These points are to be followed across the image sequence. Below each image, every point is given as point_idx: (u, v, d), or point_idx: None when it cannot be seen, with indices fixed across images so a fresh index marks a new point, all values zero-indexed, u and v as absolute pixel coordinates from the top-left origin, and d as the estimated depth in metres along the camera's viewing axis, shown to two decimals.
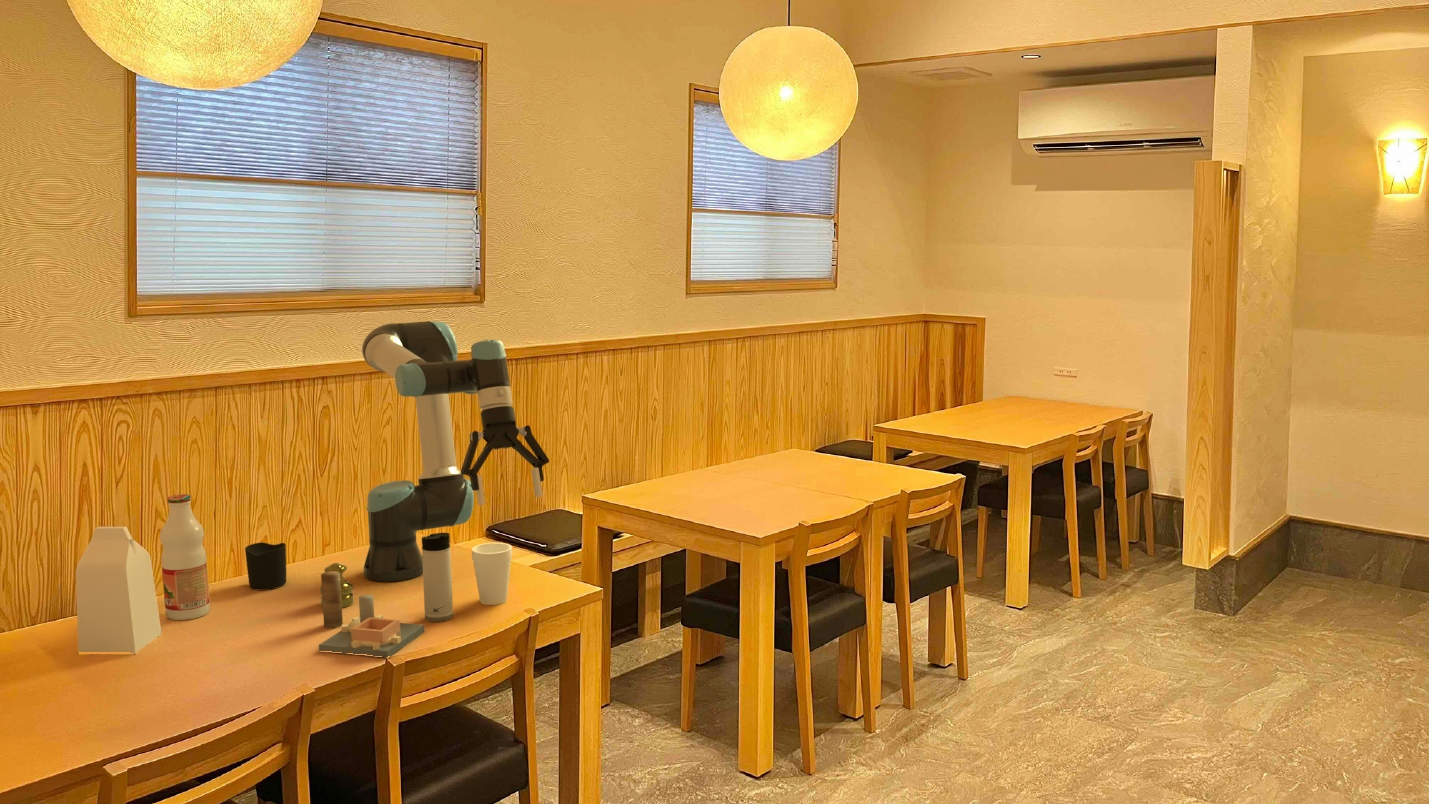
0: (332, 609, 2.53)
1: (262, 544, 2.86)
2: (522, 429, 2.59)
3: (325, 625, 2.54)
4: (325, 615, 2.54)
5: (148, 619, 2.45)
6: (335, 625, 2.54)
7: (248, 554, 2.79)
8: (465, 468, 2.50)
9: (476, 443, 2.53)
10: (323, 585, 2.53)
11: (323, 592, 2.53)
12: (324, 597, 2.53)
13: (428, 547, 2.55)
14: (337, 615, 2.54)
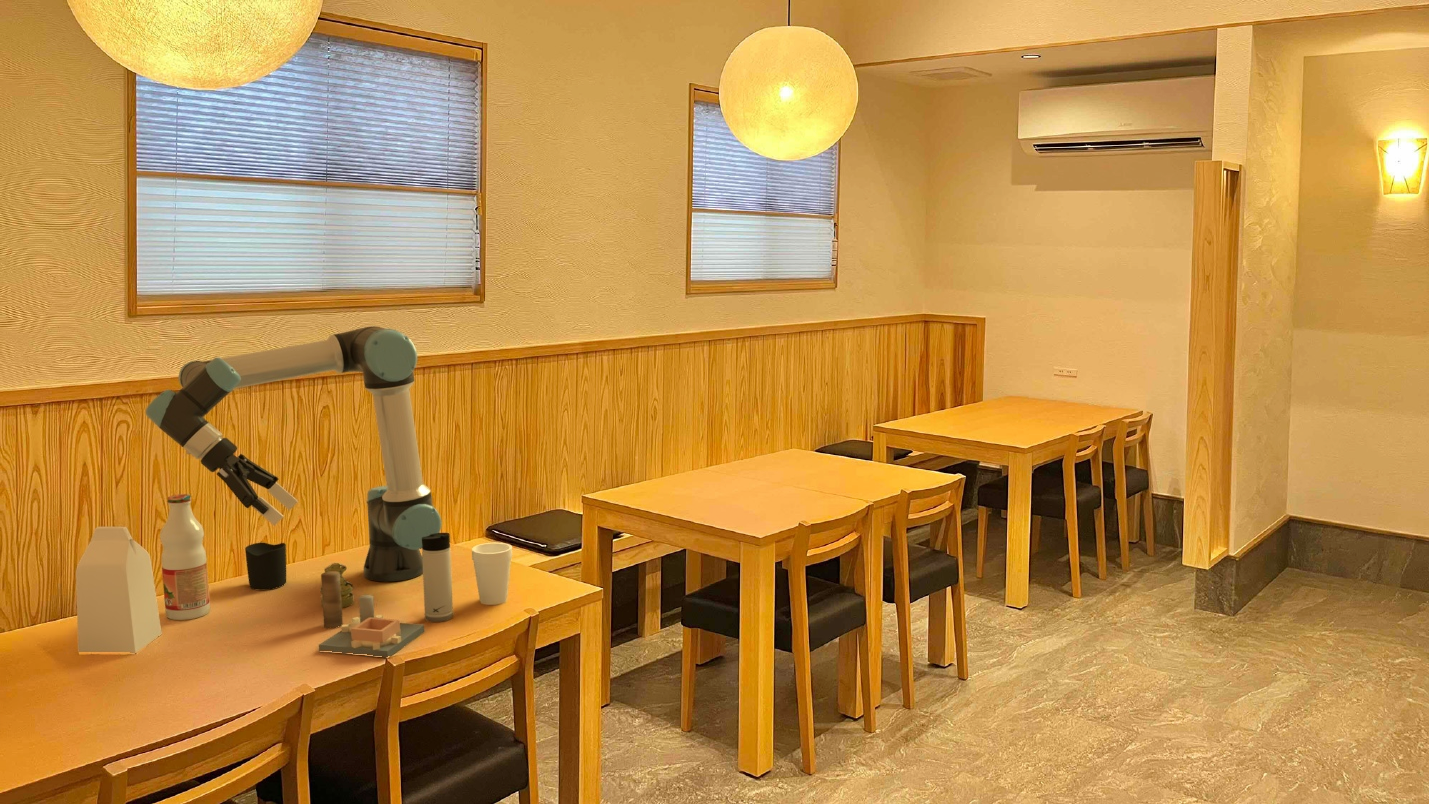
0: (332, 609, 2.53)
1: (262, 544, 2.86)
2: None
3: (325, 625, 2.54)
4: (325, 615, 2.54)
5: (148, 619, 2.45)
6: (335, 625, 2.54)
7: (248, 554, 2.79)
8: None
9: None
10: (323, 585, 2.53)
11: (323, 592, 2.53)
12: (324, 597, 2.53)
13: (428, 547, 2.55)
14: (337, 615, 2.54)
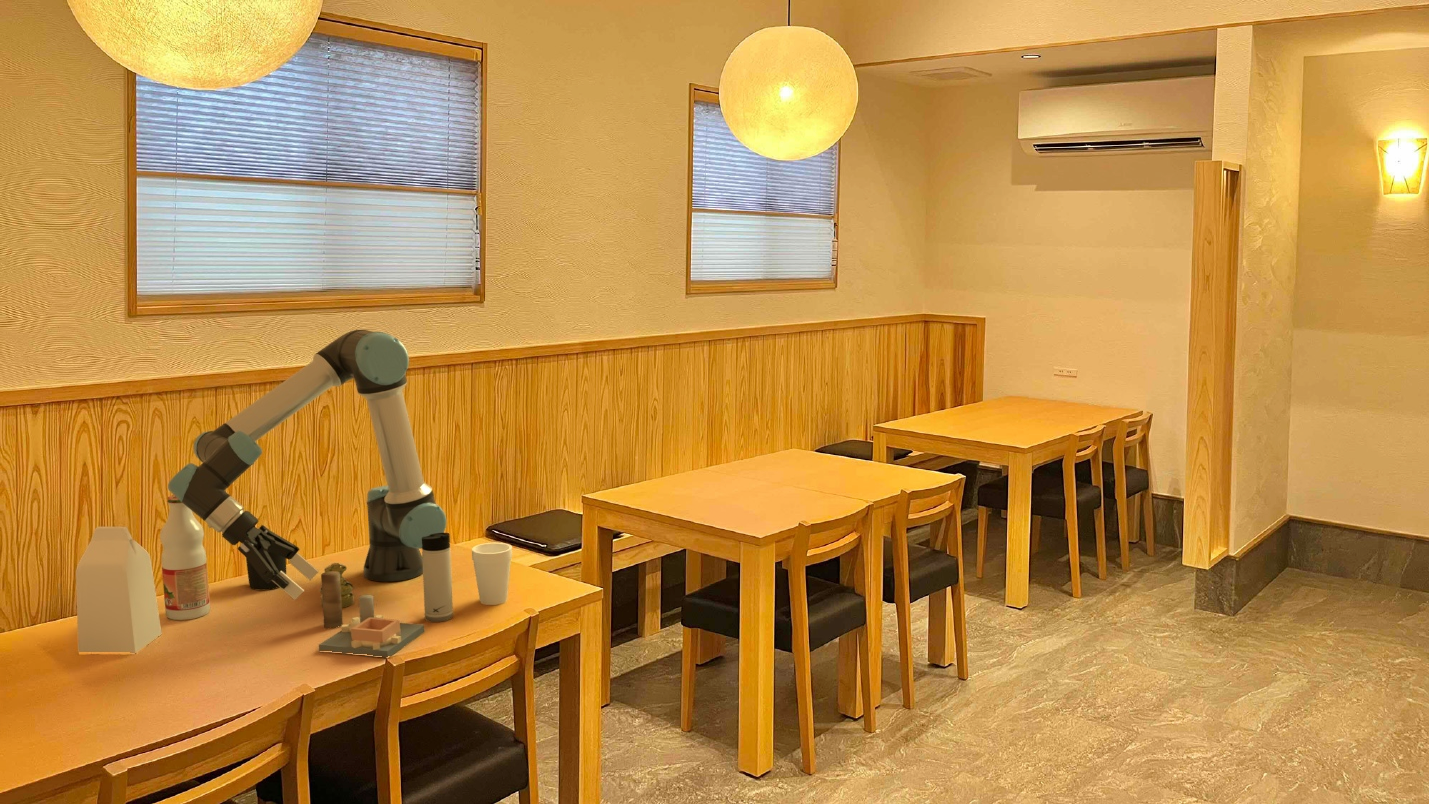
0: (332, 609, 2.53)
1: None
2: None
3: (325, 625, 2.54)
4: (325, 615, 2.54)
5: (148, 619, 2.45)
6: (335, 625, 2.54)
7: None
8: None
9: None
10: (323, 585, 2.53)
11: (323, 592, 2.53)
12: (324, 597, 2.53)
13: (428, 547, 2.55)
14: (337, 615, 2.54)
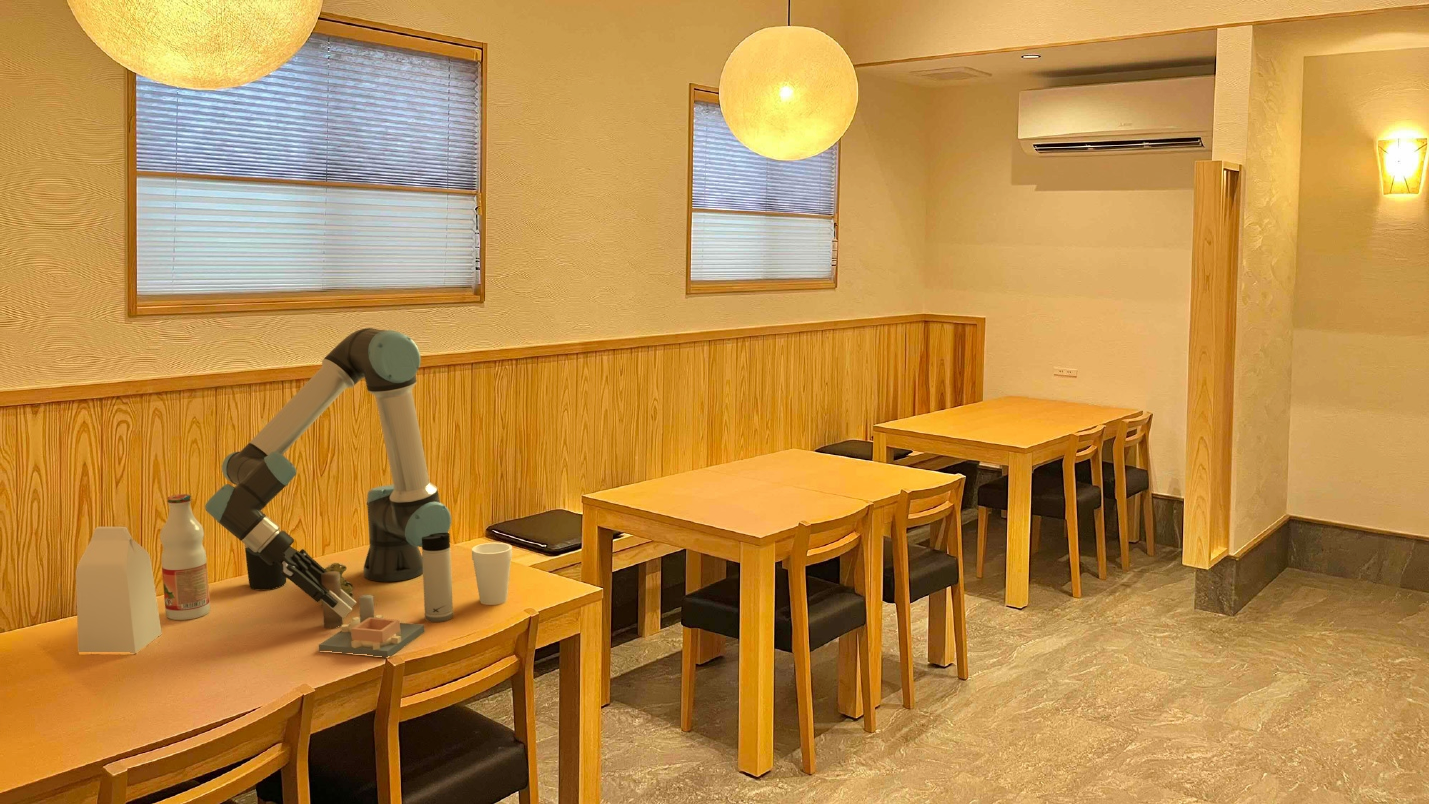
0: (332, 609, 2.53)
1: None
2: None
3: (325, 625, 2.54)
4: (325, 615, 2.54)
5: (148, 619, 2.45)
6: (335, 625, 2.54)
7: (248, 554, 2.79)
8: None
9: None
10: (323, 585, 2.53)
11: None
12: None
13: (428, 547, 2.55)
14: (337, 615, 2.54)
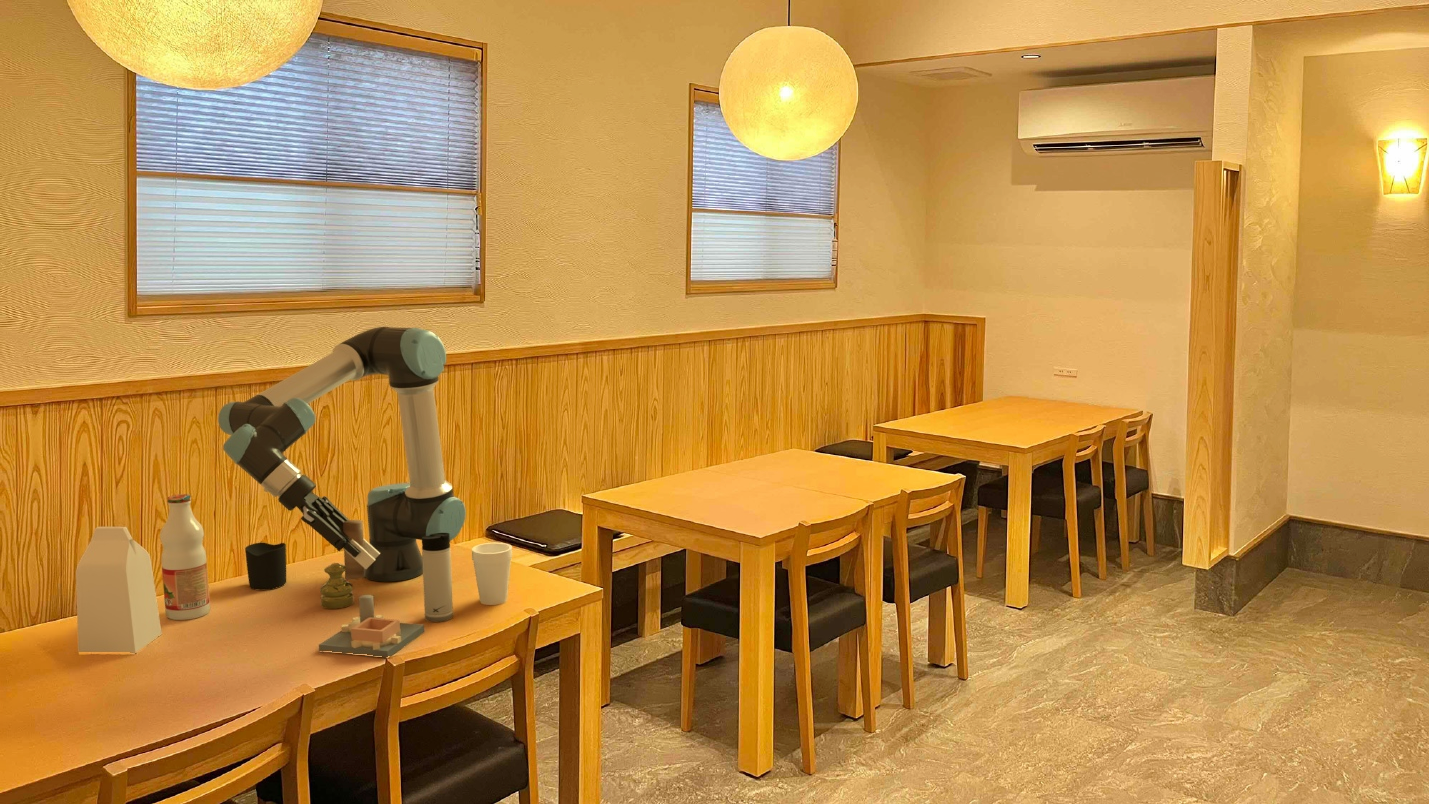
0: (354, 559, 2.39)
1: (262, 544, 2.86)
2: None
3: (346, 576, 2.40)
4: (346, 565, 2.40)
5: (148, 619, 2.45)
6: (357, 576, 2.40)
7: (248, 554, 2.79)
8: None
9: None
10: (345, 533, 2.39)
11: None
12: None
13: (428, 547, 2.55)
14: (359, 565, 2.40)
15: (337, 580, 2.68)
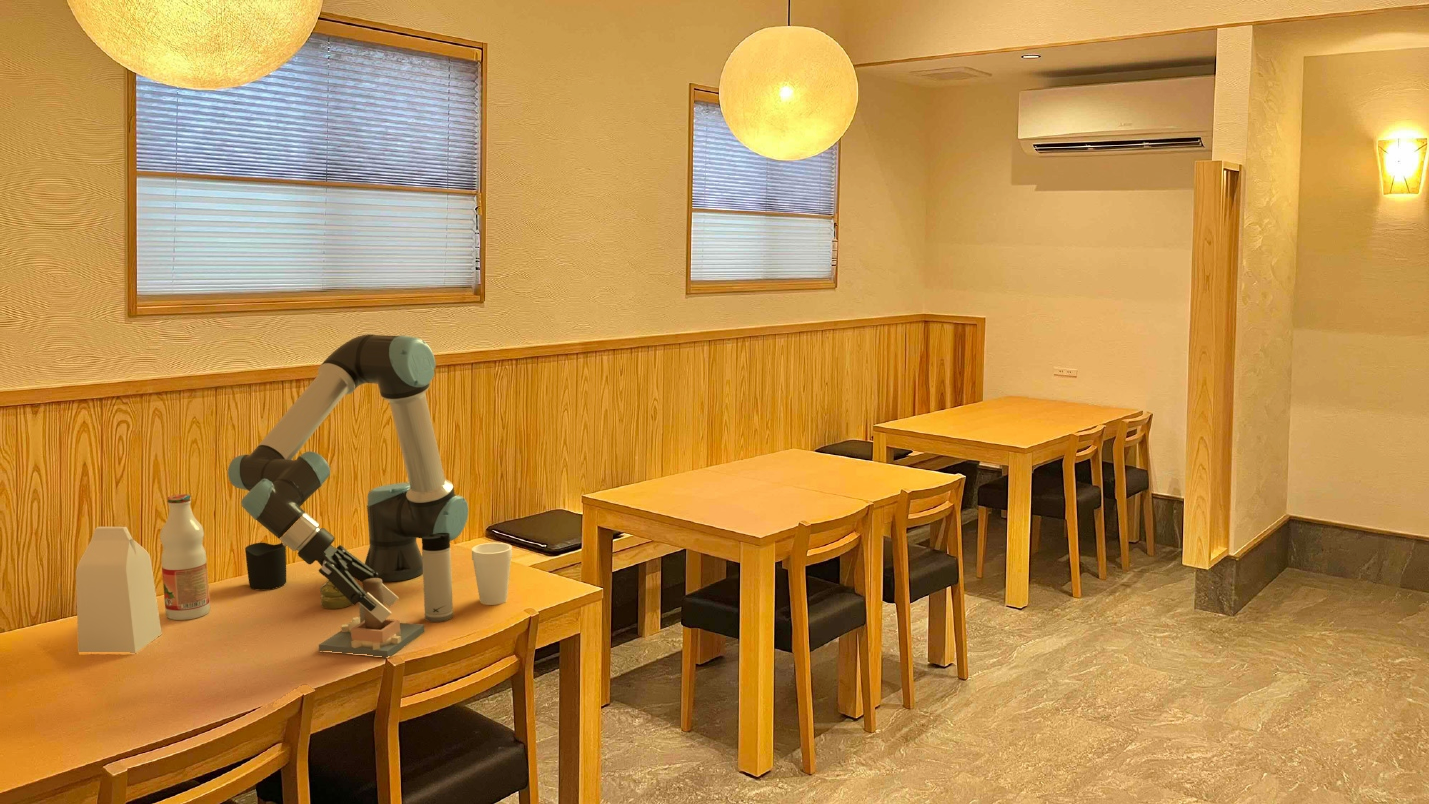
0: (375, 618, 2.39)
1: (262, 544, 2.86)
2: None
3: None
4: (367, 624, 2.40)
5: (148, 619, 2.45)
6: None
7: (248, 554, 2.79)
8: None
9: None
10: None
11: None
12: None
13: (428, 547, 2.55)
14: (380, 624, 2.40)
15: None
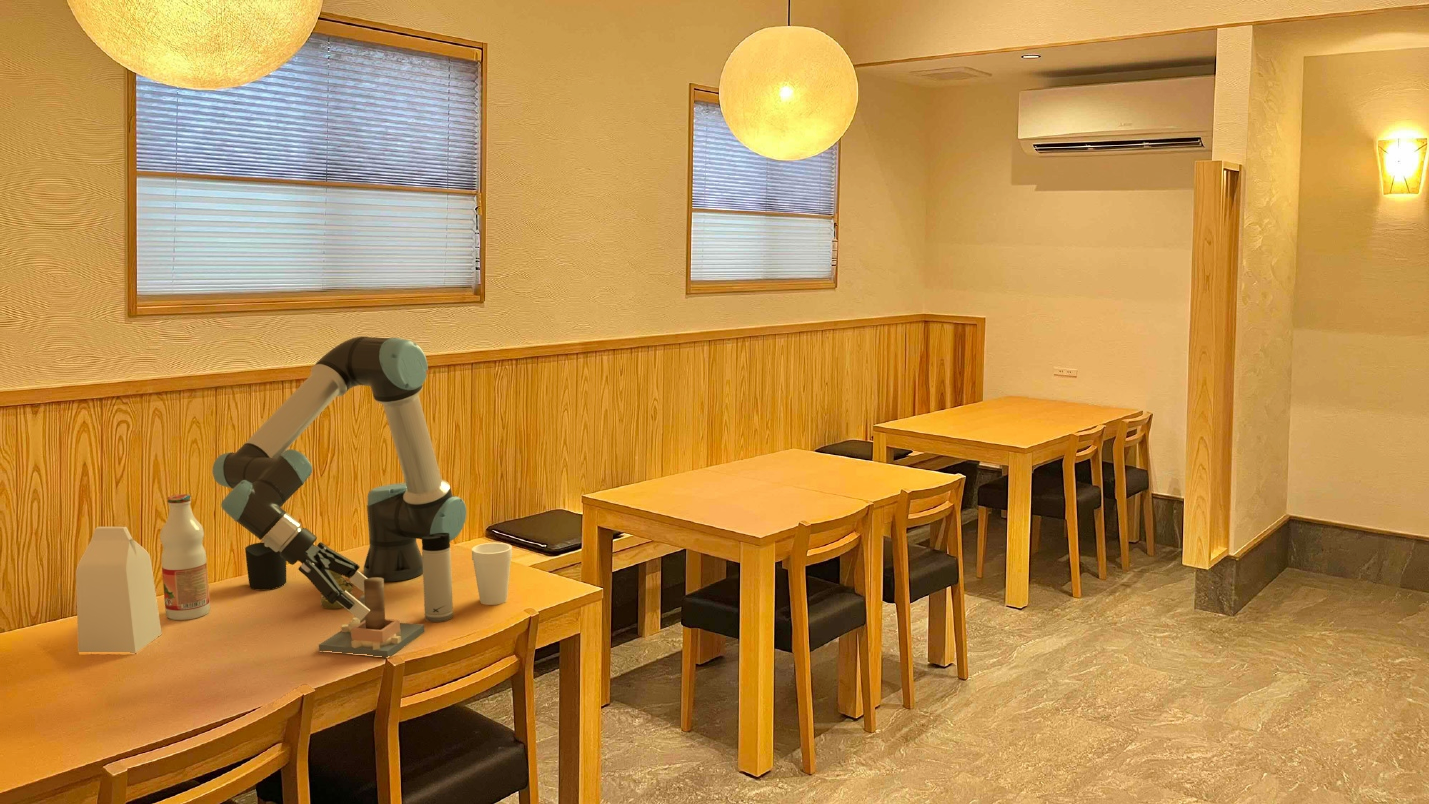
0: (375, 617, 2.39)
1: (262, 544, 2.86)
2: None
3: None
4: (368, 624, 2.40)
5: (148, 619, 2.45)
6: None
7: (248, 554, 2.79)
8: None
9: None
10: (366, 592, 2.39)
11: (366, 599, 2.39)
12: (367, 604, 2.39)
13: (428, 547, 2.55)
14: (380, 623, 2.40)
15: (337, 580, 2.68)
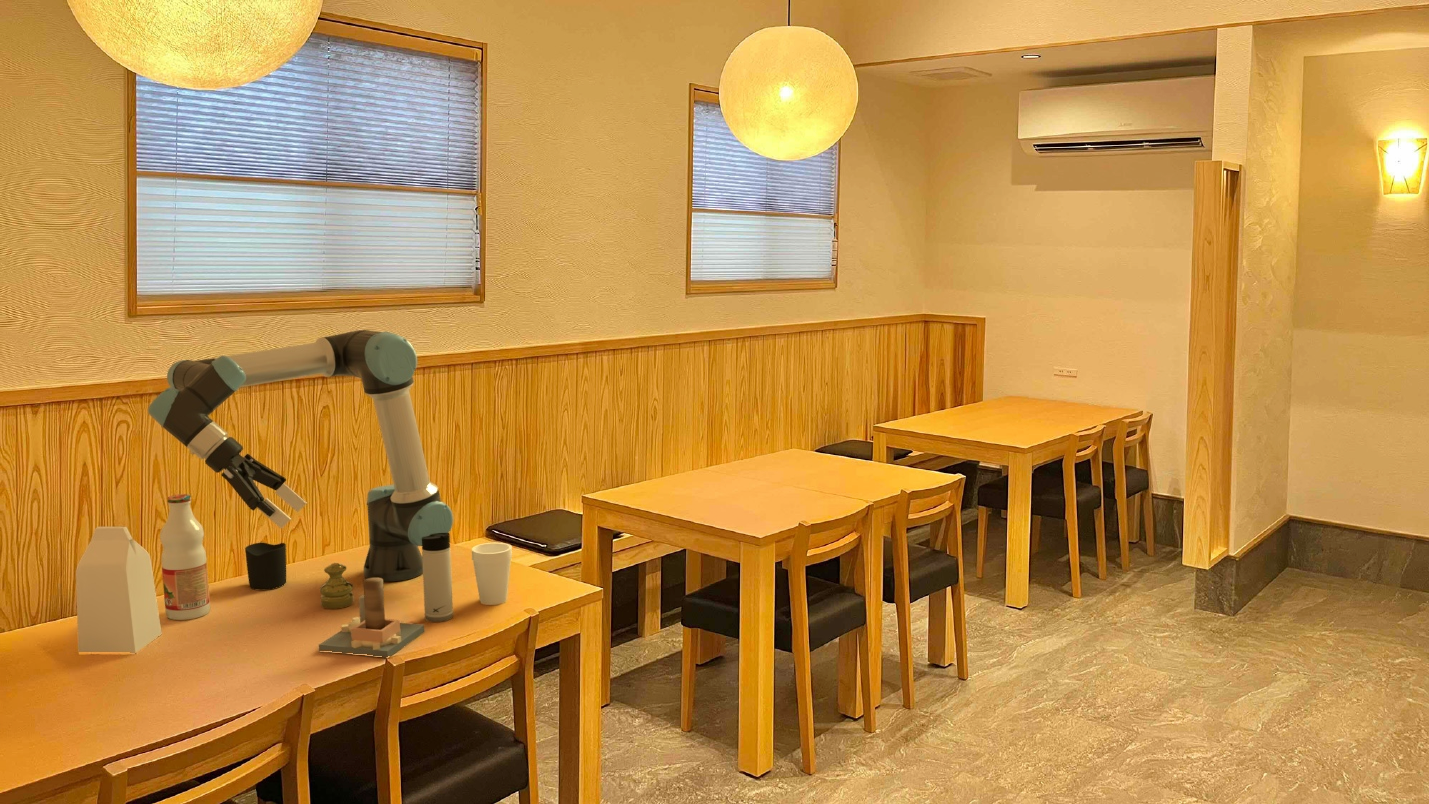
0: (375, 618, 2.39)
1: (262, 544, 2.86)
2: None
3: None
4: (367, 624, 2.40)
5: (148, 619, 2.45)
6: None
7: (248, 554, 2.79)
8: None
9: None
10: (366, 592, 2.39)
11: (365, 599, 2.39)
12: (367, 605, 2.39)
13: (428, 547, 2.55)
14: (380, 623, 2.40)
15: (337, 580, 2.68)
